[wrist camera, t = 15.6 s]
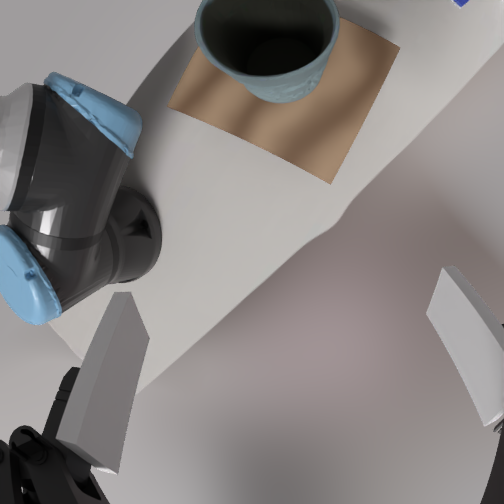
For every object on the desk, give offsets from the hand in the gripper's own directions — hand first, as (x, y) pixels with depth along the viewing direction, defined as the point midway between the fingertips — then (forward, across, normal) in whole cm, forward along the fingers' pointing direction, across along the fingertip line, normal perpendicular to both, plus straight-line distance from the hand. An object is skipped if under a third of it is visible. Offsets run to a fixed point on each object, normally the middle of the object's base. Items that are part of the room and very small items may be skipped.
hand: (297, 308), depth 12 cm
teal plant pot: (+24, +3, +10) cm, 26 cm away
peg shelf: (+31, +4, +8) cm, 32 cm away
